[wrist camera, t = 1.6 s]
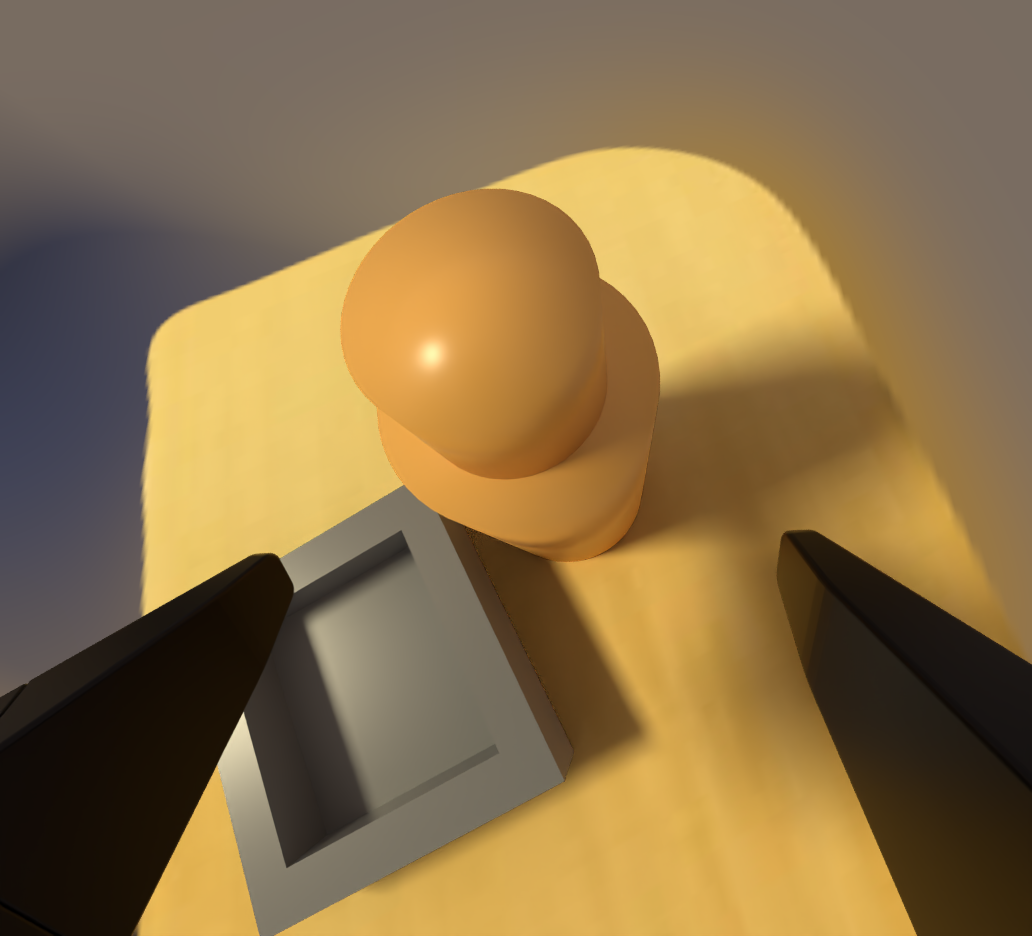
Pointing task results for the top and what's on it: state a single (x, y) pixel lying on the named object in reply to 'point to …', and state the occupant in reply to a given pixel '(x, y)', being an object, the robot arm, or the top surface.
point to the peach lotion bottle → (505, 372)
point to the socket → (382, 714)
